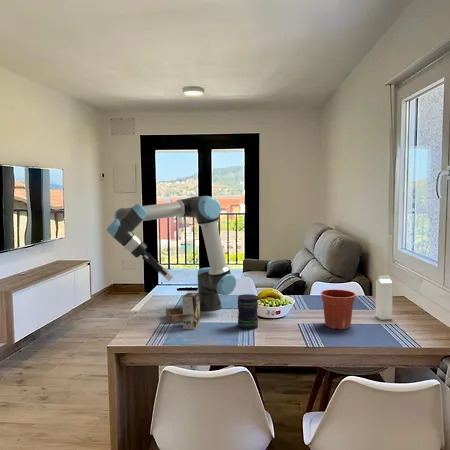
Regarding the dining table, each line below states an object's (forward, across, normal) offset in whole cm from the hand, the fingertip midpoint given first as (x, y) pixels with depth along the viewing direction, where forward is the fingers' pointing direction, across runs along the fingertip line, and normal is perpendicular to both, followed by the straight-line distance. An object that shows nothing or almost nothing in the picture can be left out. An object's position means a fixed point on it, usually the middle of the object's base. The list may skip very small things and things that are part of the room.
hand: (168, 276), depth 200 cm
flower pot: (+74, +21, +37) cm, 85 cm away
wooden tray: (+24, -15, -13) cm, 31 cm away
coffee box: (+26, 0, -11) cm, 28 cm away
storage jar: (+44, +9, +8) cm, 46 cm away
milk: (+94, +17, +58) cm, 112 cm away
